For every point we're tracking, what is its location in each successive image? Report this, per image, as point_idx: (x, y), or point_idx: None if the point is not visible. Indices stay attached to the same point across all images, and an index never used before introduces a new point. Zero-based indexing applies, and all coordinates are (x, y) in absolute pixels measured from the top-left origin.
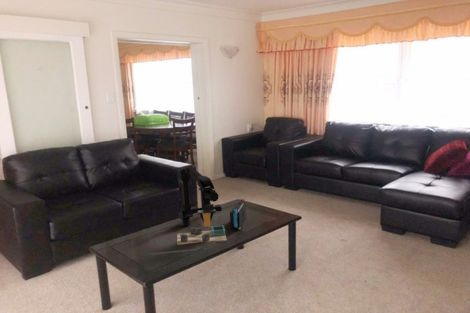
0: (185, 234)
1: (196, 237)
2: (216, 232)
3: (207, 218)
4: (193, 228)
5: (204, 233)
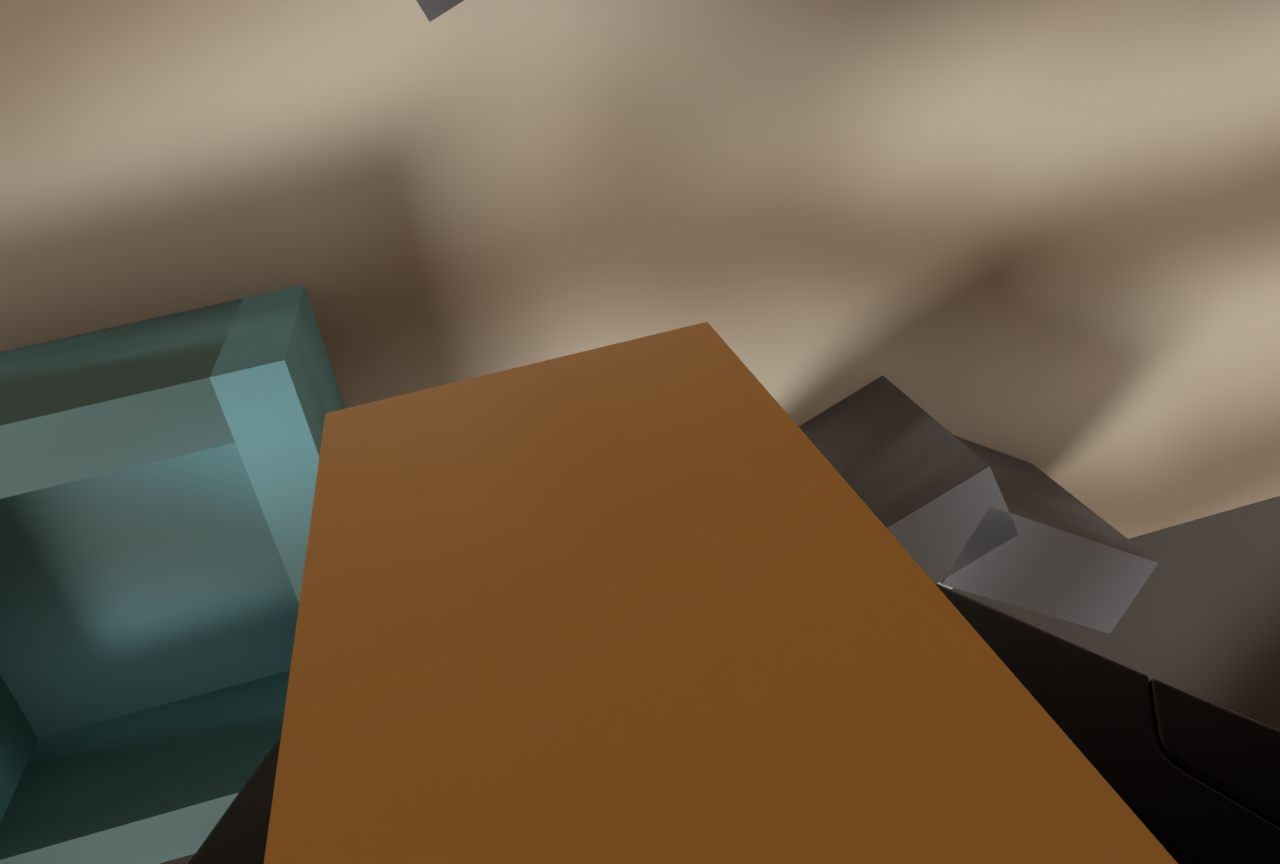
0: (1174, 434)
1: (875, 208)
2: (114, 374)
3: (574, 705)
4: (1067, 544)
5: None
